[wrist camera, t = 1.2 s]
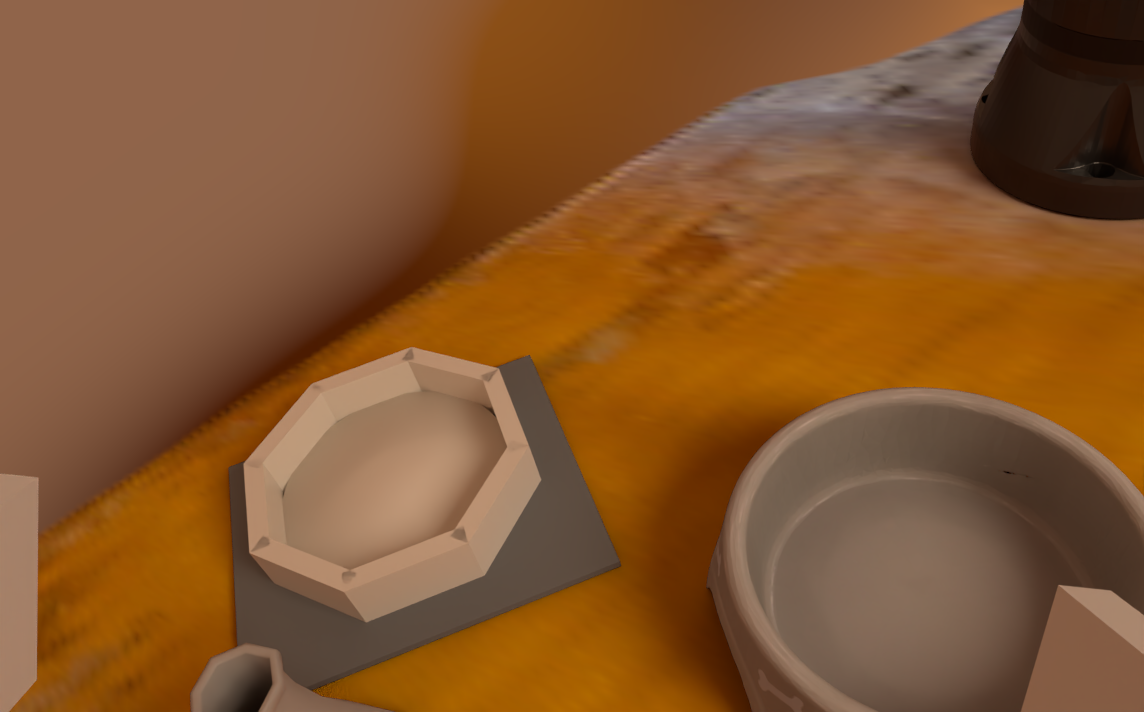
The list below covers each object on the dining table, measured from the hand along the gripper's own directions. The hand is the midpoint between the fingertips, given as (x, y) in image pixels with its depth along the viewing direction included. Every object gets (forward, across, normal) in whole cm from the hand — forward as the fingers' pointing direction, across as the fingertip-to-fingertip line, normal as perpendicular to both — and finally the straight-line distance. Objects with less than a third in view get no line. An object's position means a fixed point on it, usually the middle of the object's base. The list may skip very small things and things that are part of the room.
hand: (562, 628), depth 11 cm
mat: (+32, -4, -13) cm, 35 cm away
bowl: (+34, -5, -12) cm, 36 cm away
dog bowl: (+22, +18, -11) cm, 31 cm away
